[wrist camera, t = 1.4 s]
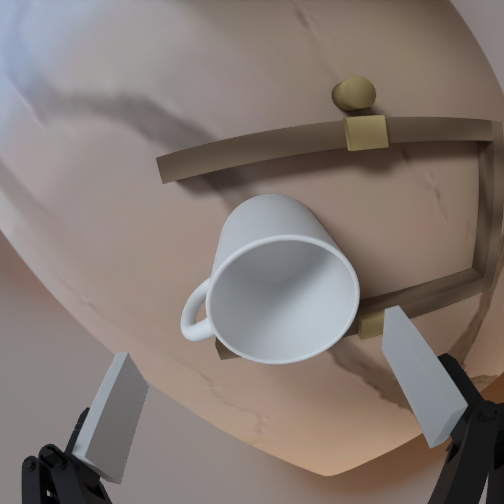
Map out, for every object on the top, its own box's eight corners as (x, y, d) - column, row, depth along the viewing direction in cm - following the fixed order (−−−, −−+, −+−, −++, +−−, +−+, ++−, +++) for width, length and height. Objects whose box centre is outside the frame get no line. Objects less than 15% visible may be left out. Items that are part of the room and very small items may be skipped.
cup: (333, 255, 24) (377, 324, 15) (220, 314, 27) (210, 397, 17) (289, 173, 22) (322, 202, 12) (167, 246, 24) (125, 314, 15)
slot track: (156, 118, 19) (142, 115, 16) (482, 91, 17) (502, 91, 14) (223, 344, 28) (221, 366, 25) (479, 279, 26) (494, 292, 23)
